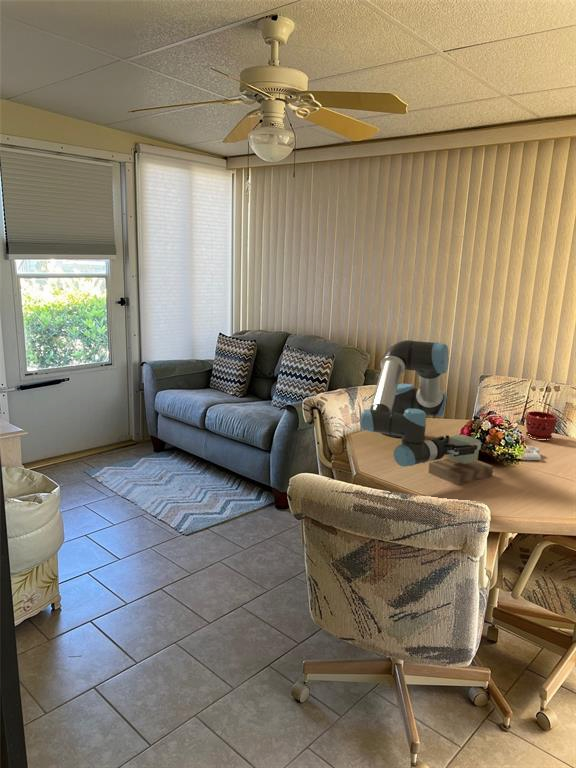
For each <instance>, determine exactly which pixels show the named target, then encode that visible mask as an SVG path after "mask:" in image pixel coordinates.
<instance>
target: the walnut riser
mask: <svg viewBox="0 0 576 768" xmlns="http://www.w3.org/2000/svg"><path fill="white" fill-rule="evenodd" d="M428 465H429V466H428V473H429V474H431V475H432V476H435V477H438V478H440V479H442V480H445V481H448V482H450V483H451V484H454V485H457V486H461V485H464V484H467V483H471V482H474V481H478V480H482V479H486V478H489V477H493V472H494V465H491V464H489V463H486V462H483V461H480V460H478V461H473V462H469V463H465V464H463V463H461V462H458V461H455V460H453V459H450V458H445V459H444V458H443V459H438V460H434V461H433V462H432V461H430V462H429V464H428Z"/></svg>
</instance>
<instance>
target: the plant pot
mask: <svg viewBox="0 0 576 768" xmlns="http://www.w3.org/2000/svg"><path fill="white" fill-rule="evenodd" d="M525 418H526V419H525V428H526V431H525V435H526V436H529V437H532V438H536V439H546V440H547V439H551V438H553V435H552V434H553V433H554V431H555V430H556V429H555V428H556V423H557V419H558V418H557V416H556V415H555V414H553V413H550V412H545V411H540V410H539V411H535V410H534V411H533V410H532V411H528V412H526V416H525ZM528 434H530V435H531V436H530V435H528ZM529 437H528V438H529ZM551 440H552V439H551Z"/></svg>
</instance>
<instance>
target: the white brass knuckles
mask: <svg viewBox="0 0 576 768" xmlns="http://www.w3.org/2000/svg"><path fill="white" fill-rule="evenodd" d="M525 446H526V452H525V454H524V456H523V458H522V460H521V461H526V460H527V461H531V460H540V461H541V460H542V456H541V455H540V449H539V448H538V447H535V446H530V445H528V446H527V445H525Z"/></svg>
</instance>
